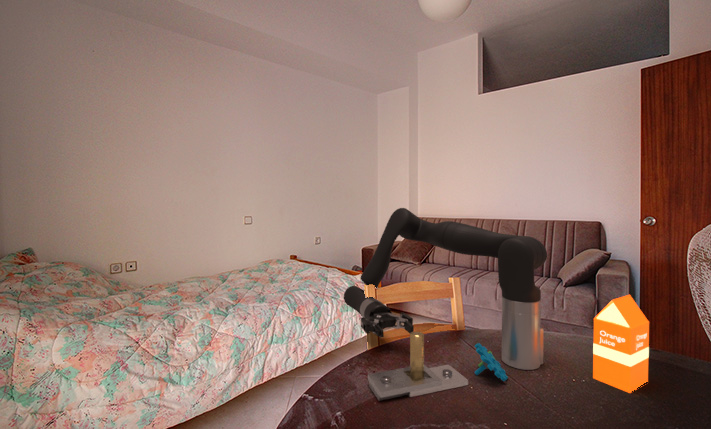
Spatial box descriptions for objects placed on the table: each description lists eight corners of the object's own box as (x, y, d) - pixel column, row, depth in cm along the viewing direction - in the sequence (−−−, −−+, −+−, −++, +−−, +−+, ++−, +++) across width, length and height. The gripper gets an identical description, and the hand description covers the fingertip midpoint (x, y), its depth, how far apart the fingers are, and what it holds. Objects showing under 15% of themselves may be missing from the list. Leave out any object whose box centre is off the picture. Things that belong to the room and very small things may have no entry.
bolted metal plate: (448, 369, 87) (448, 357, 87) (468, 385, 80) (468, 372, 80) (367, 384, 81) (367, 371, 80) (380, 403, 73) (380, 389, 73)
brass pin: (420, 380, 82) (419, 330, 82) (426, 386, 79) (426, 335, 79) (408, 382, 81) (407, 332, 81) (414, 389, 78) (413, 337, 78)
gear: (510, 384, 77) (477, 346, 80) (490, 399, 78) (458, 362, 81) (509, 368, 87) (480, 336, 90) (491, 382, 88) (463, 349, 92)
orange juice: (648, 382, 80) (650, 298, 79) (630, 393, 75) (632, 304, 75) (610, 368, 86) (611, 290, 86) (591, 377, 82) (592, 295, 81)
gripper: (353, 303, 103) (372, 321, 88) (396, 298, 108) (421, 314, 92) (353, 327, 104) (372, 349, 88) (396, 322, 108) (421, 342, 93)
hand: (397, 331), depth 90 cm, fingers open, 8 cm apart
